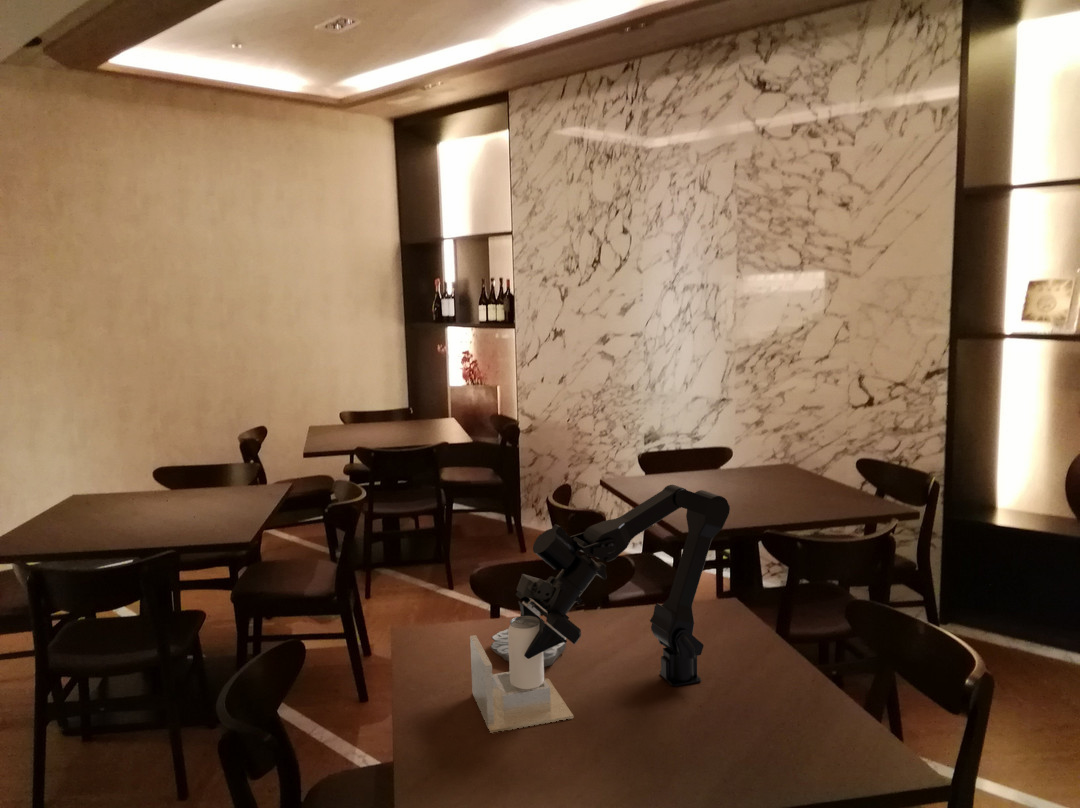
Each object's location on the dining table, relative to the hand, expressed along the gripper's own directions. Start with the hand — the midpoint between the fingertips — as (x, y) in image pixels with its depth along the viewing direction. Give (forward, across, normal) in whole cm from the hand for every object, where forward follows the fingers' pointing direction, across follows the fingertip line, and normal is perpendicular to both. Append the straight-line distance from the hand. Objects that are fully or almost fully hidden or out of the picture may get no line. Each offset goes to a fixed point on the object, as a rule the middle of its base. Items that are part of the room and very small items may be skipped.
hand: (519, 650), depth 149 cm
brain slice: (+1, -26, +18) cm, 32 cm away
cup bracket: (+8, -4, +10) cm, 14 cm away
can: (+4, 0, +6) cm, 7 cm away
